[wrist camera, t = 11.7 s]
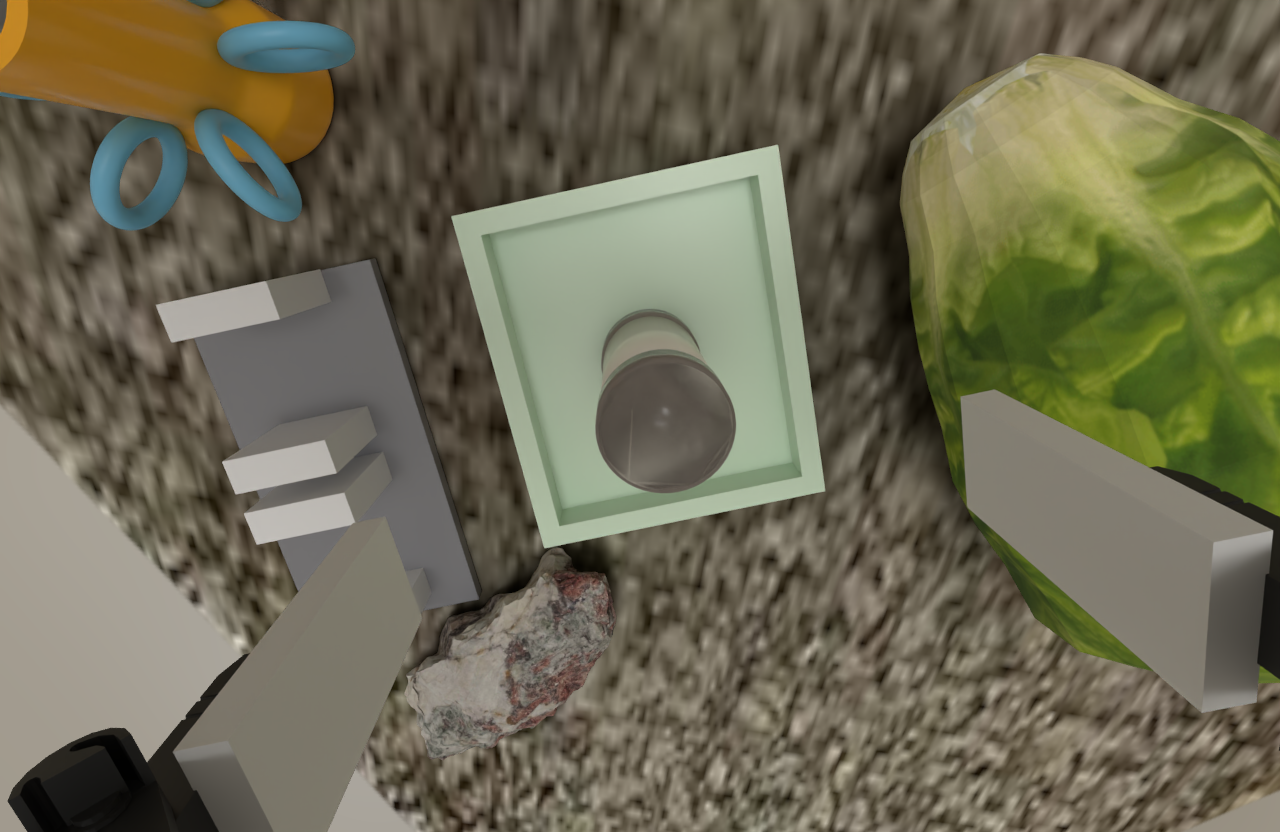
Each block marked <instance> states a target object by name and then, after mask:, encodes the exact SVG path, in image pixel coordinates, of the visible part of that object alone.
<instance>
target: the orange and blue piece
mask: <svg viewBox="0 0 1280 832" xmlns="http://www.w3.org/2000/svg"><path fill="white" fill-rule="evenodd" d="M354 54H355V44H354V42H353V40H352V38H351V37H350V36H349V35H348V34H347V33H346V32H344V31H342V30H340V29H338V28H336V27H333V26H329V25H325V24H320V23H314V22H305V21H286V20H284V19H282V18H281V17H279V16H277V15H275V14H273V13H272V12H270V11H268V10H266V9H265V8H263V7H261V6H259V5H257V4H256V3H254V2H252V1H250V0H0V96H4V97H10V98H17V99H27V100H42V101H53V102H58V103H64V104H69V105H74V106H80V107H85V108H91V109H96V110H101V111H107V112H112V113H117V114H123V115H128V116H130V117H128V118H126V119H124V120H123V121H121V122H120V123H118V124H117V125H116V126H115V127H114V128H113V129H112V130H111V131H110V132H109V133H108V134H107V136H106V137H105V138H104V140H103V141H102V143H101V145H100V146H99V148H98V150H97V153H96V155H95V158H94V161H93V164H92V169H91V175H90V191H91V197H92V200H93V203H94V206H95V208H96V210H97V211H98V213H99V214H100V216H101V217H102V218H103V219H104V220H105V221H106V222H108V223H109V224H111V225H112V226H114V227H116V228H119V229H123V230H140V229H143V228H146V227H149V226H151V225H152V224H154V223H156V222H157V221H158V220H160V219H161V218H162V217H163V216H164V215H165V214H166V213H167V212H168V211H169V210H170V208H171V207H172V206H173V204H174V203H175V201H176V200H177V198H178V196H179V194H180V192H181V189H182V187H183V184H184V181H185V177H186V173H187V165H188V155H187V148H188V149H190V150H192V151H194V152H196V153H199V154H202V155H205V157H206V159H207V160H208V162H209V163H210V165H211V166H212V167H213V169H214V170H215V171H216V173H217V174H218V175H219V176H220V178H221V179H222V180H223V181H224V182H225V183H226V184H227V186H228V187H229V188H230V189H231V190H232V191H233V192H234V193H235V194H236V195H237V196H239V197H240V198H241V199H242V200H243V201H244V202H245V203H247V204H248V205H249V206H251V207H252V208H253V209H255V210H256V211H258V212H259V213H261V214H263V215H264V216H266V217H268V218H271V219H273V220H276V221H281V222H288V221H292V220H294V219H296V218H297V217H298V216H299V214H300V212H301V209H302V200H301V196H300V192H299V190H298V187H297V185H296V183H295V181H294V179H293V177H292V176H291V174H290V173H289V171H288V169H287V168H286V166H285V165H284V164H285V163H289V162H293V161H296V160H298V159H300V158H302V157H304V156H305V155H307V154H308V153H310V152H311V151H312V150H313V149H314V148H315V147H316V146H317V145H318V144H319V143H320V142H321V140H322V139H323V137H324V136H325V134H326V132H327V130H328V128H329V125H330V123H331V118H332V114H333V107H334V106H333V103H334V94H333V87H332V81H331V78H330V75H329V72H328V69H330V68H334V67H338V66H341V65H343V64H345V63H347V62H348V61H350V60H351V59H352V58H353V56H354ZM151 137H156V138H158V140H159V141H160V143H161V146H162V151H163V163H162V169H161V172H160V176H159V178H158V181H157V183H156V185H155V187H154V188H153V190H152V191H151V193H150V194H149V195H148V196H147V198H146V199H145V200H144V201H142V202H141V203H140V204H138V205H137V206H135V207H132V208H125V207H124V206H123V204H122V202H121V199H120V193H119V186H120V178H121V174H122V171H123V168H124V166H125V163H126V161H127V159H128V158H129V156H130V155H131V153H132V152H133V151H134V149H135V148H136V147H137V146H138V145H139V144H140V143H142V142H143V141H145V140H146V139H148V138H151ZM238 161H241V162H250V163H257V164H258V165H259V166H260V168H261V169H262V170H263V171H264V173H265V174H266V175H267V177H268V178H269V180H270V181H271V183H272V185H273V187H274V188H275V190H276V193H277V195H278V198H277V197H275V196H274V195H272V194H271V193H269V192H268V191H267V190H265V189H264V188H263V187H262V186H260V185H259V184H258V183H257V182H256V181H255V180H254V179H253V178H252V177H251V176H250V175H249V174H248V173H247V172H246V170H245V169H244V168H243V167H242V166H241V165H240V163H239V162H238Z"/></svg>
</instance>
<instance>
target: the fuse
mask: <svg viewBox="0 0 1280 832" xmlns="http://www.w3.org/2000/svg"><path fill="white" fill-rule="evenodd" d="M601 368H602V387H601V392H600V395H599V399H598V403H597V413H596V424H595V431H596V440H597V444H598V447H599V451H600V453H601V455H602V457H603V459H604V461H605V462H606V464H607V465H608V467H609V468H610V469H611V470H612V471H613V472H614V473H615V474H616V475H617V476H618V477H619V478H620V479H622V480H623V481H625V482H626V483H628V484H629V485H631V486H633V487H635V488H638V489H641V490H644V491H648V492H653V493H675V492H680V491H684V490H688V489H690V488H693V487H695V486H697V485H699V484H701V483H703V482H704V481H706V480H707V479H708V478H710V477H711V476H712V475H713V474H714V473H715V472H717V471H718V469H719V468H720V467H721V466H722V465H723V463H724V462H725V460H726V459H727V457H728V455H729V453H730V451H731V449H732V446H733V442H734V439H735V433H736V417H735V411H734V407H733V404H732V402H731V399H730V397H729V395H728V393H727V392H726V390H725V388H724V386H723V385H722V383H721V381H720V380H719V378H718V377H717V375H716V374H715V373H714V371H713V370H712V369H711V368H710V367H709V366H708V365H707V363H706V361H705V360H704V358H703V356H702V354H701V353H700V349H699V346H698V343H697V341H696V339H695V338H694V336H693V334H692V333H691V331H690V329H689V328H688V327H687V325H686V324H685V323H684V322H683V321H682V320H680V319H679V318H678V317H676V316H675V315H673V314H671V313H669V312H666V311H663V310H658V309H643V310H638V311H634V312H632V313H630V314H627V315H626V316H624V317H622V318H621V319H620V320H619V321H617V322H616V323H615V325H614V326H613V327H612V328H611V329H610V331H609V333H608V334H607V336H606V339H605V341H604V345H603V350H602V359H601Z"/></svg>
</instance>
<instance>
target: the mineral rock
mask: <svg viewBox="0 0 1280 832" xmlns="http://www.w3.org/2000/svg"><path fill="white" fill-rule="evenodd" d="M610 592H611V591H610V587H609V584H608V581H607V578H606V576H605V574H604V573H597V572H578V570H577V569H575V568H574V567H573V564H572V560H571V557H569V556H568V555H567V554H566V553H565V552H564V549H561V548H557V547H553V548H551V549H550V550H548V551H547V552H546V553H545V554H544V555H543V556H542V558H541V561H540V564H539V566H538V568H537V569H536V571H535V572H534V573H533V575H532V577H531V579H530V580H529V582H528V583H527V585H526V587H525V588H523V589H521V590H519V591H517V592H514V593H510V594H497V595H495V596H493V597H491V598H490V599H489V601H488V602H487V603H486V605H485V606H484V607H483V608H481V609H479V610H477V611H470V612H466V613H463V614H459V615H452V616H451V617H449V618H448V619H447V622H446V624H445V626H444V628H443V630H442V633H441V634H440V636H439V638H440V643H439V647H438V653H436V654H434V655H433V656H430V657H427V658H426V659H425V660H424V661H423V662H422V663H421V666H416V667H415V668H414V669H413V670H411V671H410V672H409V673H408V674H407V675H406V676H407V678H408V685H407V688H406V691H405V695H406V698H407V702H408V703H409V704H410V706H411V707H412V708H414V709H415V710H416V711H417V713H418V715H417V725H418V726H419V727H420V728H421V735H422V736H423V737H424V738H425V743H426V746H427V750H428V757H429V758H430V759H434V758H440V759H442V760H444V759H445V758H447V757H448V756H452V755H455V754H461V753H462V752H464V751H465V750H468V749H470V748H473V747H475V746H478V747H480V748H492V747H494V746H495V745H497V743H498V741H499V740H500V739H502V738H503V737H506V736H509V735H511V734H513V733H516V732H517V731H518V730H521V729H522V728H529V727H530V728H534V727H535V726H536V725H537V724H538V723H540V721H541V720H543V719H544V718H545V717H547V716H553V715H554V714H555V712H556V710H557V707H558V706H560V705H562V704H564V703H565V702H566V700H567V698H568V697H569V696H570V695H571V694H572V692H573V691H575V690H578V689H579V688H581V687H582V686H583V685H584V683H585V680H586V678H587V675H588V672H589V671H590V669H591V667H592V666H594V664H595V662H596V660H597V659H598V658H599V657H600V656H601V655H602V654H603V653H604V651H605V649H606V648H607V647H608V645H609V643H610V640H611V637H612V635H613V629H614V627H615V624H616V623H615V622H616V614H615V611H614V608H613V606H612V603H613V600H612V597H611V594H610Z"/></svg>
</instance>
